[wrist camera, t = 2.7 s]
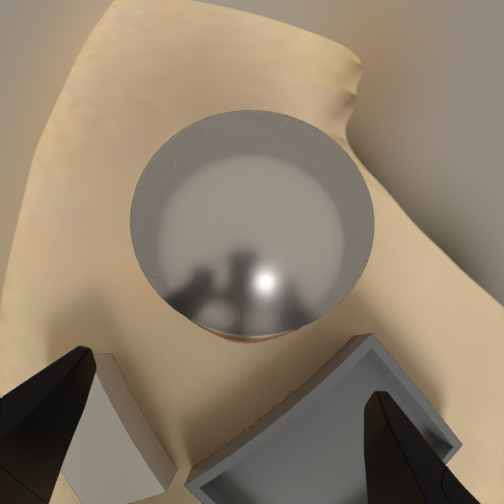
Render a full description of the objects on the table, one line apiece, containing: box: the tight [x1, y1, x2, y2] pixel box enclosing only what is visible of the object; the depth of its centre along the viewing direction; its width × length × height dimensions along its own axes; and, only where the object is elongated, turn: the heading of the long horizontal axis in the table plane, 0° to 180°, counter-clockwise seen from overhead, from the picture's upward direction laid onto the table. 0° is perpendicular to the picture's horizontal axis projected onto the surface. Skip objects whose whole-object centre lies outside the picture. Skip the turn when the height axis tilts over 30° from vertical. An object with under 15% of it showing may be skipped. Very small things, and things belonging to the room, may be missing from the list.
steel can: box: [130, 110, 374, 343], centre depth 15 cm, size 7×7×13 cm
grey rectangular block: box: [61, 354, 178, 504], centre depth 16 cm, size 6×9×4 cm, turn 30°
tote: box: [184, 333, 463, 504], centre depth 16 cm, size 14×11×3 cm
